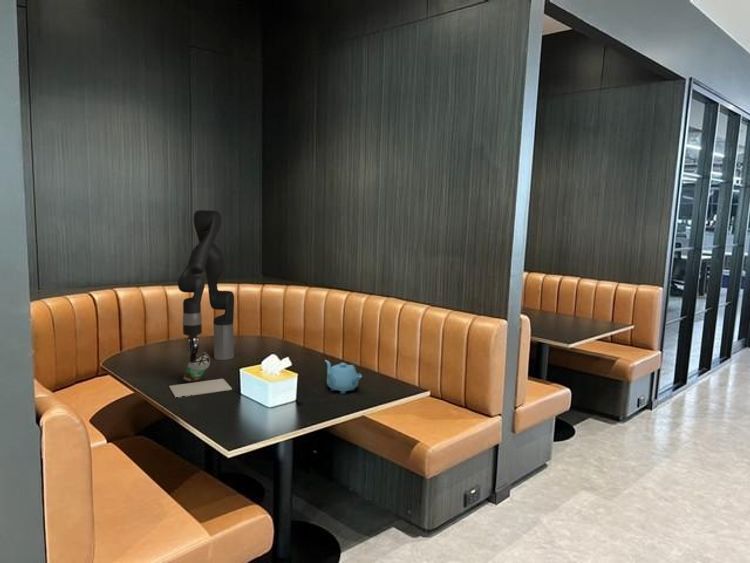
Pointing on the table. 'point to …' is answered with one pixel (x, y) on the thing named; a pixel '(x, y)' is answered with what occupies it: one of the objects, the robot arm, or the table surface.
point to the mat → (199, 388)
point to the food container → (197, 368)
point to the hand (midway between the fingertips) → (193, 362)
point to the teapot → (342, 377)
